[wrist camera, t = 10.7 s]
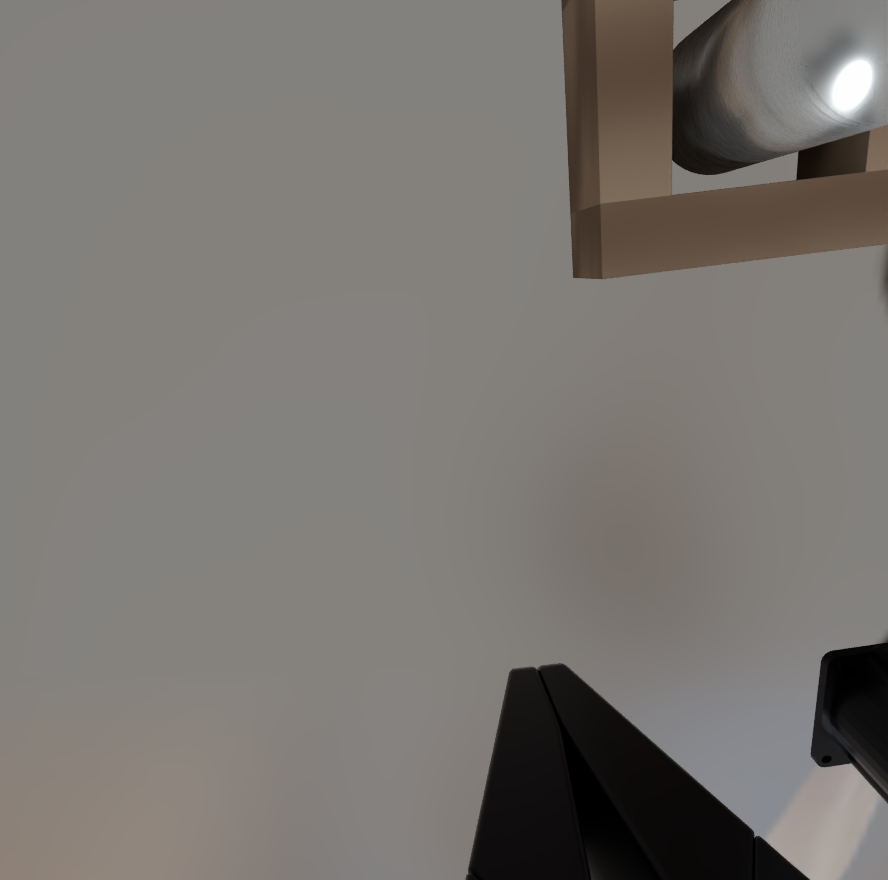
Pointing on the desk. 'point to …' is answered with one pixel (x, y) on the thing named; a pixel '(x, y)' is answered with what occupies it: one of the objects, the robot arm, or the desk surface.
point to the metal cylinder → (777, 80)
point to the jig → (650, 164)
